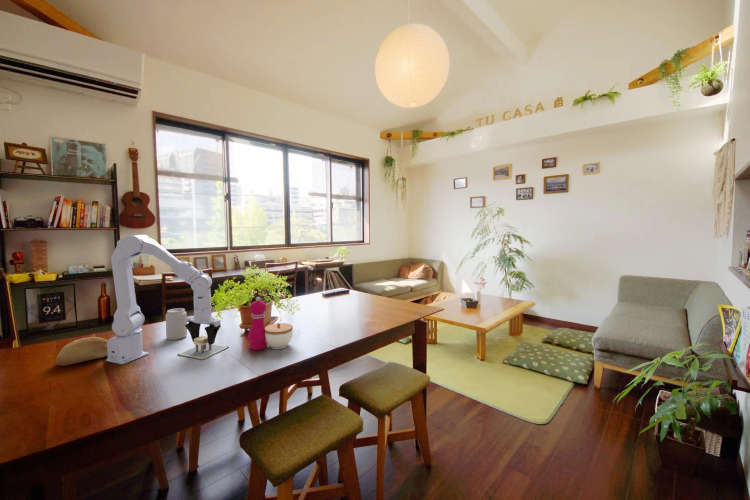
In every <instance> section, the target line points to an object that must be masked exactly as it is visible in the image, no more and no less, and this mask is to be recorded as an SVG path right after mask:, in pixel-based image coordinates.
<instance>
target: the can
mask: <svg viewBox="0 0 750 500" xmlns="http://www.w3.org/2000/svg"><path fill="white" fill-rule="evenodd" d="M164 315H165V337H166V339H168V340H169V341H177V340H178V339H179V340H182V339H184V338H186V336H187V335H188V329H187V328H186V327H185V325H186V324H188V322H186V317H188V315H187V311H186V309H185V308H183V307H182V308H180V307H178V308H177V307H176V308H171V309H167V311H166V314H164Z"/></svg>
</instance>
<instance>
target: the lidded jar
mask: <svg viewBox="0 0 750 500" xmlns="http://www.w3.org/2000/svg"><path fill="white" fill-rule="evenodd" d="M293 328H294V326H293V325H292V324H290V323H284V322H283V323H282V322H277V323H271V324H269V325H267V326H266V325H265V329H264V331H265V339H266V340H265V341H266V342H267V345H268V346H269V347H270V348H271V349H273V350H282V349H284V348H287V347H288V345H289V343H290V342H291V341H292V339H293V338H292V337H293Z"/></svg>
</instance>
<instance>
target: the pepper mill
mask: <svg viewBox="0 0 750 500" xmlns="http://www.w3.org/2000/svg"><path fill="white" fill-rule="evenodd" d="M261 299H262V298H261V297H259V296H257V297H255V301H253V302H251V303H250V306H249V311H250V312H251V314H250V317H251V318H252V323H251V327H250V330H249V332H248V335H247V337H248V341H250V343H249V349H250V350H253V351H258V350H263V349H265V348H266V347H267V345H268V344H267V342H266V339H265V331H264V329H265V327H266V325H265V321H264V320H265V317H266V315H265V311H266V310H267V305H266V302H264V301H263V300H261Z"/></svg>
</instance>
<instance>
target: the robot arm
mask: <svg viewBox="0 0 750 500" xmlns="http://www.w3.org/2000/svg"><path fill="white" fill-rule="evenodd" d="M140 254H141V255H149V256H153V257H155V258H156V259H158V260H159V261H161V262H162V263H164V264H166V265H167V266H169V267H170V268H172V270H173V274H174V275H175V276H177V277H179V278H180V279H181V280H183V281H184V282H185V283H186V284H188V285H190V288H191V290H192V291H193V315H189V316H187V317H186V322H187V324H186V325H185V327H186V328H187V332H188V333H189V335H190V337H191V340H192V343H194V339H195V338H197V337H200V331H201V330H200V329H201V325H208V326H205V327H204V330H205V332H206V335H207V337H208V344H209V345H211V344H215V341H216V338H217V335H218V331H220V329H221V327H222V326H221V320H220V319H217V318H214V315H212V294H211V293H212V291H211V286H212V284H213V279H212V277H211V276H210V275H209V274H207V273H204V272H203V271H202V270H199V269H197V268H196V267H195V266H193V265H194V264H193V263H192V262H190V261H189V262H187V261H186V260H185V261H181V260H179V259H178V258H177V257H176V256H174V255H173V254H172V253H171V252H170V251H168V250H167V249H165V247H163V246H162V245H161V244H160V243H158V242H157V241H156V240H155V239H153V238H151V237H150V236H148V235H147V234H142V233H139V234H134V235H133V234H132V235H131V234H128V235H125V236H123V237H121V238H120V239H119V240H117V241H116V247H115V249H114V251H113V253H112V254H111V257H110V262H111V269H112V276H113V277H112V278H113V282H114V291H115V292H114V293H115V299H116V306H117V308H116V310H115V312H114V315H113V322H112V323H111V329H112V332H113V333H114V334H115V336H113V337H110V338H109V339H107V340H108V342H107V353H108V356H107V358H106V362H109V363H114V364H118V365H124V364H126V363H129V362H133V361H134V360H137V359H139V358H142V357H144V356H148V355H149V354H150V352H148V351H144V346H143V329H142V326H143V324H144V323H145V321H146V320H145V315H144V314H143V313H142V311H141V307H140V306H139V305H138V303H137V296H136V291H135V290H136V289H135V281H134V273H133V265H132V261H133V260H134V259H135V258H136V257H138V256H139V255H140Z"/></svg>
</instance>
